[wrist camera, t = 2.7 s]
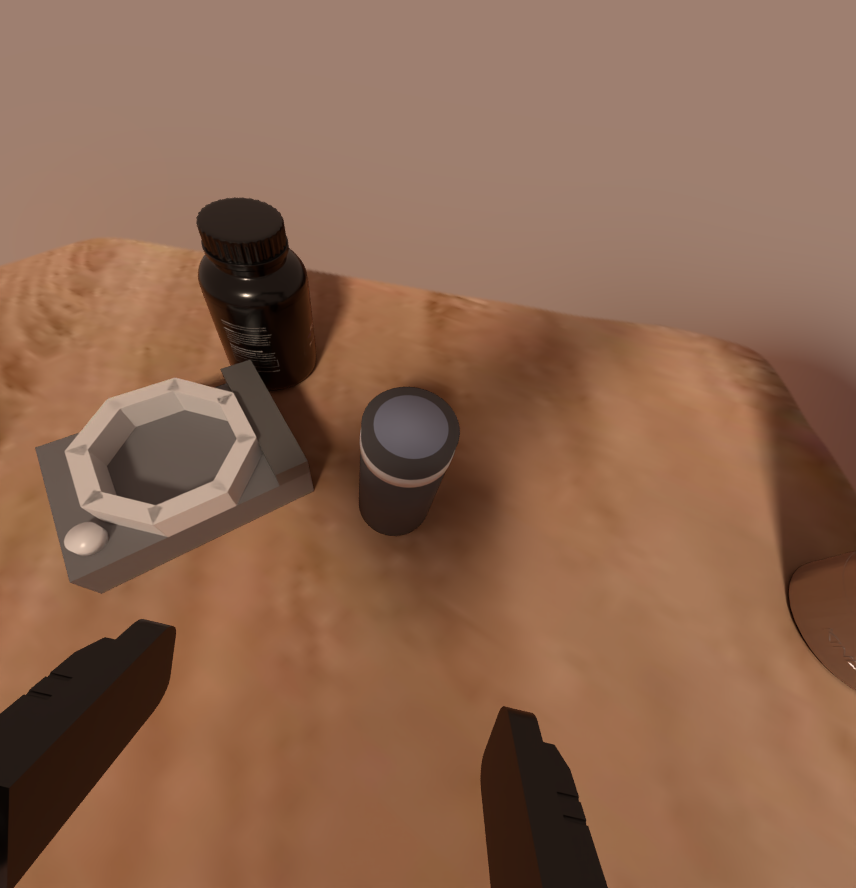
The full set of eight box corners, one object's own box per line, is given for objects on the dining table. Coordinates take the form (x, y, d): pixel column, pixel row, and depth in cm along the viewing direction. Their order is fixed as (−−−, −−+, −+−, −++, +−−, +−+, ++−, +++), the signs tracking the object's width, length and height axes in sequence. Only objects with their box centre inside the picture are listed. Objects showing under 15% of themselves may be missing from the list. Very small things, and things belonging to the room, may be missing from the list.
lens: (405, 459, 30) (425, 373, 22) (442, 514, 29) (480, 443, 20) (345, 489, 28) (341, 407, 20) (381, 550, 27) (394, 488, 18)
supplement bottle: (334, 361, 34) (326, 226, 24) (271, 407, 31) (231, 273, 21) (278, 319, 36) (248, 175, 25) (212, 359, 32) (147, 211, 22)
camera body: (263, 399, 31) (248, 354, 27) (313, 490, 28) (306, 456, 24) (66, 470, 26) (10, 429, 22) (101, 593, 23) (43, 573, 18)
